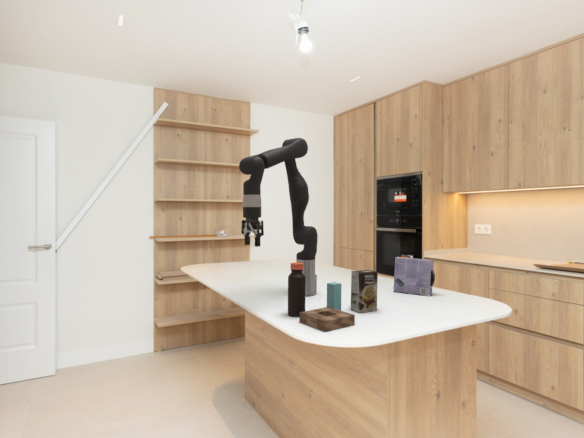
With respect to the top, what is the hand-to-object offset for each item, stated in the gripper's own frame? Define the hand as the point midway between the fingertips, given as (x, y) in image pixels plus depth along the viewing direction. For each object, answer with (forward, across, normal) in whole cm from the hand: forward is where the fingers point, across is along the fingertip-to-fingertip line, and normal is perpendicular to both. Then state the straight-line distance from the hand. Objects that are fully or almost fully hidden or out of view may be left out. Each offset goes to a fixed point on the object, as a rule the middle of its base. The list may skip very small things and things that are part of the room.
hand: (252, 245), depth 153 cm
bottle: (+26, -17, -10) cm, 33 cm away
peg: (+26, -24, -23) cm, 43 cm away
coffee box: (+27, -27, -37) cm, 53 cm away
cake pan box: (+28, -18, -82) cm, 88 cm away
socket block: (+26, -32, -12) cm, 43 cm away
